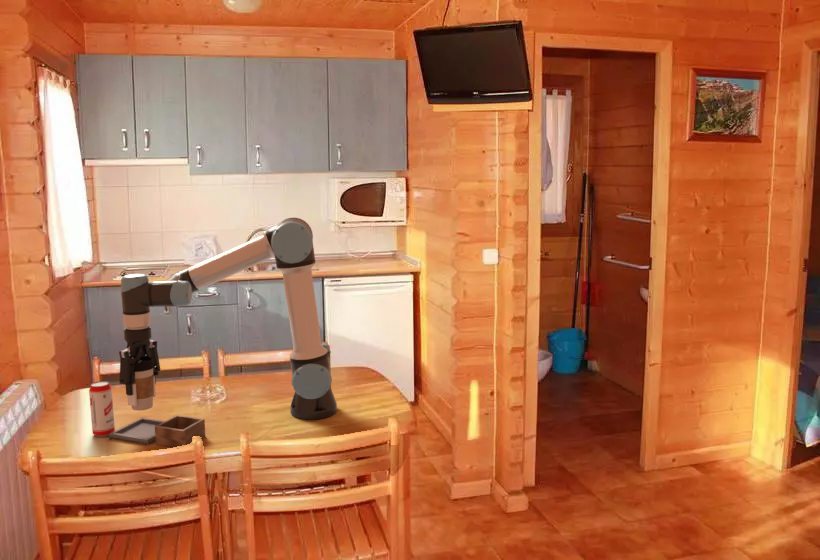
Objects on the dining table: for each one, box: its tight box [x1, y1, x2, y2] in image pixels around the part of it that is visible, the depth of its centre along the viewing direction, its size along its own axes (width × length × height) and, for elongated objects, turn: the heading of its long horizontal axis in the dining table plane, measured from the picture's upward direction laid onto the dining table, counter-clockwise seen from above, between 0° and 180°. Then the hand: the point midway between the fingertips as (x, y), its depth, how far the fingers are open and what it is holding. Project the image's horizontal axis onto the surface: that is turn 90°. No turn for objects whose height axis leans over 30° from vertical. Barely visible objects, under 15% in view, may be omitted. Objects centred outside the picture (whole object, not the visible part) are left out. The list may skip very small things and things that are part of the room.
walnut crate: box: [155, 414, 206, 448], centre depth 214 cm, size 10×10×6 cm
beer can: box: [88, 380, 116, 438], centre depth 220 cm, size 6×6×16 cm
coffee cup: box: [129, 357, 156, 412], centre depth 218 cm, size 8×8×15 cm
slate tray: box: [108, 417, 165, 446], centre depth 220 cm, size 14×14×2 cm
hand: (142, 400), depth 219 cm, fingers closed on coffee cup, 7 cm apart
